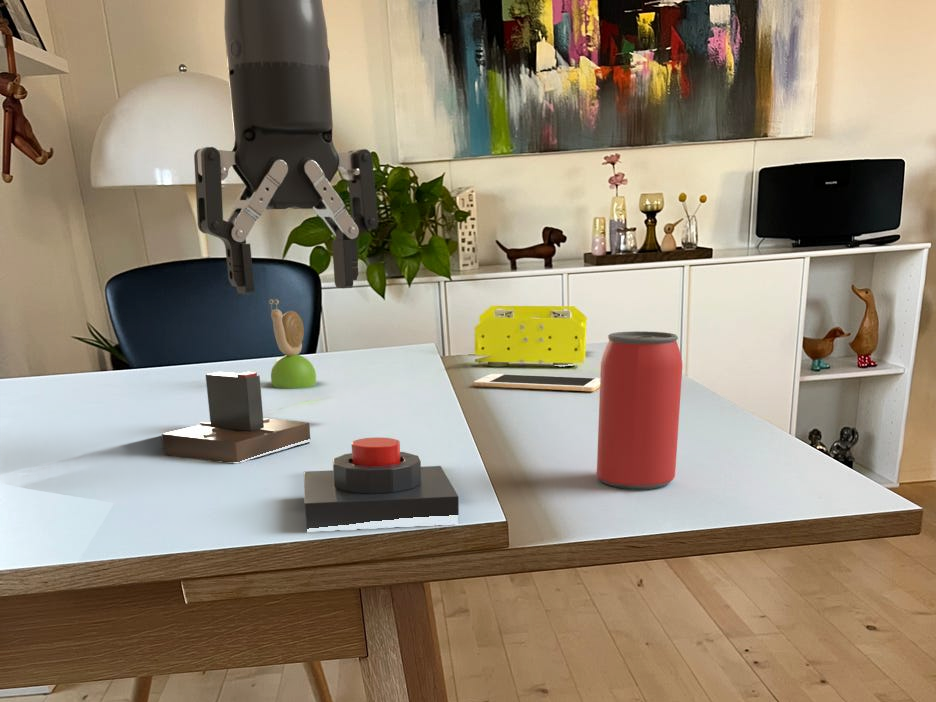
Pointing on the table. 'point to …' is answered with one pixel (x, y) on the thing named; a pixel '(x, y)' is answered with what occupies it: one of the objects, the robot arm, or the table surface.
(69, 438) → the table surface
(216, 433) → the dial panel
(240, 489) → the table surface
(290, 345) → the snail figurine
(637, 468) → the beer can
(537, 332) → the yellow toy chassis
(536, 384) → the cell phone
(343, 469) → the button block
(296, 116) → the robot arm
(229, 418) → the dark grey rectangular block
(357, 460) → the button
